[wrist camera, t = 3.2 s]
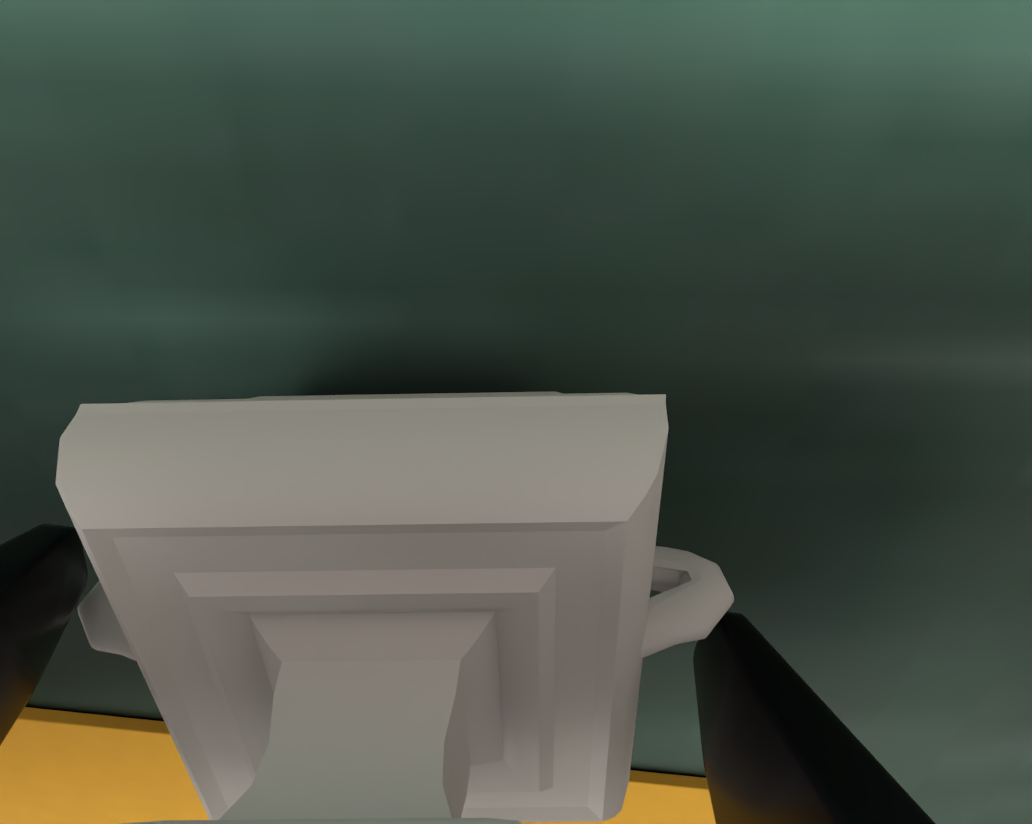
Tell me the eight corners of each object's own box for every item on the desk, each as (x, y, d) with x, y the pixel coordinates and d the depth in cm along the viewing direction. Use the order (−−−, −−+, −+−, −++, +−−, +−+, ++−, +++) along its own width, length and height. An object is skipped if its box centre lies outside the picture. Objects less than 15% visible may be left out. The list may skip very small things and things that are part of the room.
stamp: (209, 636, 13) (-156, 1396, 6) (87, 319, 10) (-1086, 1206, 3) (676, 627, 13) (869, 1397, 6) (719, 301, 10) (1303, 1193, 2)
